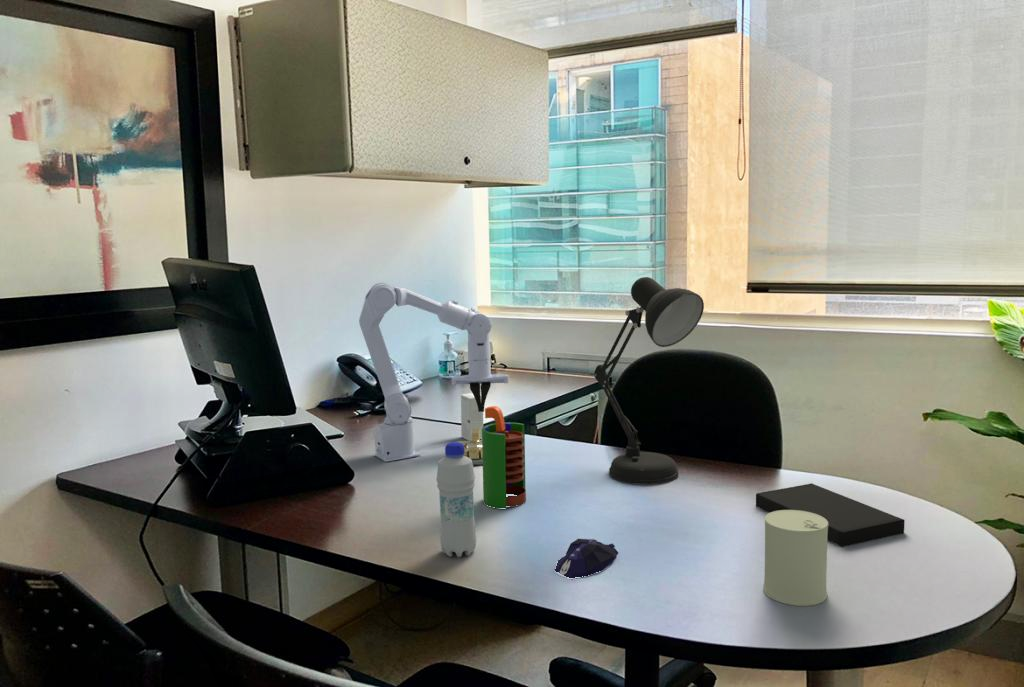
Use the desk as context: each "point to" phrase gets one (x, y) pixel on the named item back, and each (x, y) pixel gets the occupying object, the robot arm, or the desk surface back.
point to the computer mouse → (586, 558)
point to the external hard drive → (834, 513)
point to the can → (795, 557)
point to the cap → (476, 461)
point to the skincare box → (470, 416)
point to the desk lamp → (666, 326)
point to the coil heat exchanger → (503, 461)
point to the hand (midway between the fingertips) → (481, 411)
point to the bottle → (456, 501)
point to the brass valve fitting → (473, 446)
